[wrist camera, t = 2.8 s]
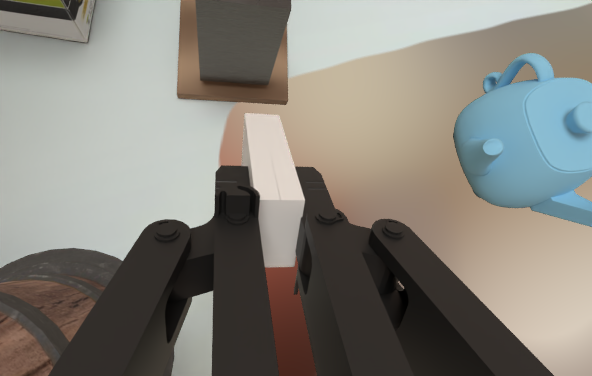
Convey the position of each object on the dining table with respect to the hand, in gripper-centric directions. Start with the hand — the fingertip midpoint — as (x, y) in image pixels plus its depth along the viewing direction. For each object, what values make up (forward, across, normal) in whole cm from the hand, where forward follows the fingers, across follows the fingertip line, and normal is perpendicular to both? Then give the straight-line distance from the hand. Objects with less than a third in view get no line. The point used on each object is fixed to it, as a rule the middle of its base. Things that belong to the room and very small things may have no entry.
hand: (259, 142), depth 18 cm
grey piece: (+25, 0, +2) cm, 25 cm away
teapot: (+17, +27, -10) cm, 33 cm away
